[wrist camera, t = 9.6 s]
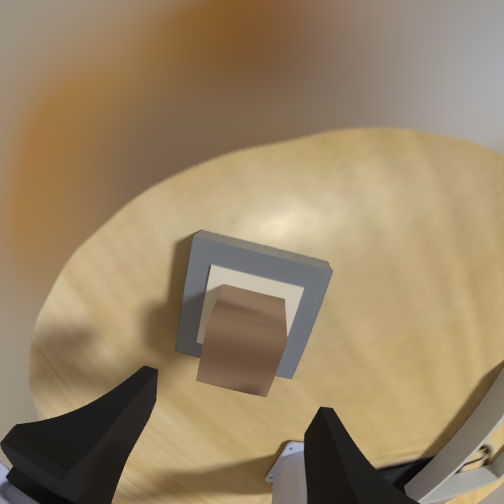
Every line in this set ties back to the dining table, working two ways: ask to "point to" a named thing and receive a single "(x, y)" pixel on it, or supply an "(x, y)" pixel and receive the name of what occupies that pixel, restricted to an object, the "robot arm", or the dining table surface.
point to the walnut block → (243, 341)
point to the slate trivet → (251, 289)
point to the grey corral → (463, 454)
